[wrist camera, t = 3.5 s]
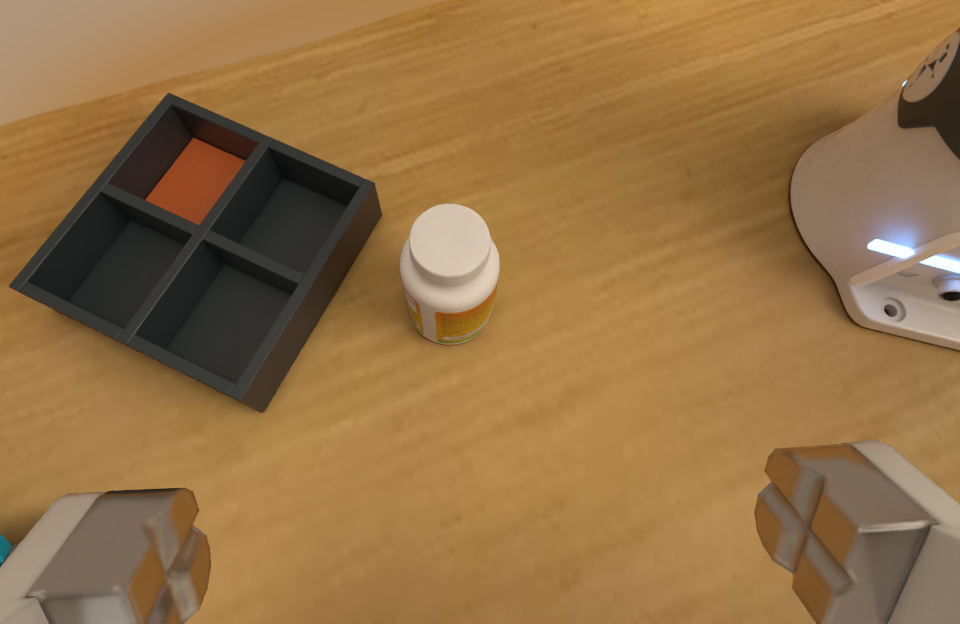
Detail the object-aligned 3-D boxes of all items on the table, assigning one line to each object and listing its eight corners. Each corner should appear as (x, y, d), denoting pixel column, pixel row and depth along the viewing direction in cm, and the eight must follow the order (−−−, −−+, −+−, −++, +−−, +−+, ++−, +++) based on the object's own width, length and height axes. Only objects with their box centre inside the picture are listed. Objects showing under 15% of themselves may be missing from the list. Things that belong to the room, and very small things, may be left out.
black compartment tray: (382, 214, 38) (374, 182, 35) (263, 413, 34) (239, 401, 30) (194, 131, 40) (168, 91, 36) (55, 310, 35) (7, 286, 31)
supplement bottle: (506, 290, 37) (524, 218, 28) (468, 361, 35) (474, 309, 26) (433, 255, 38) (428, 173, 28) (392, 322, 36) (373, 258, 27)
